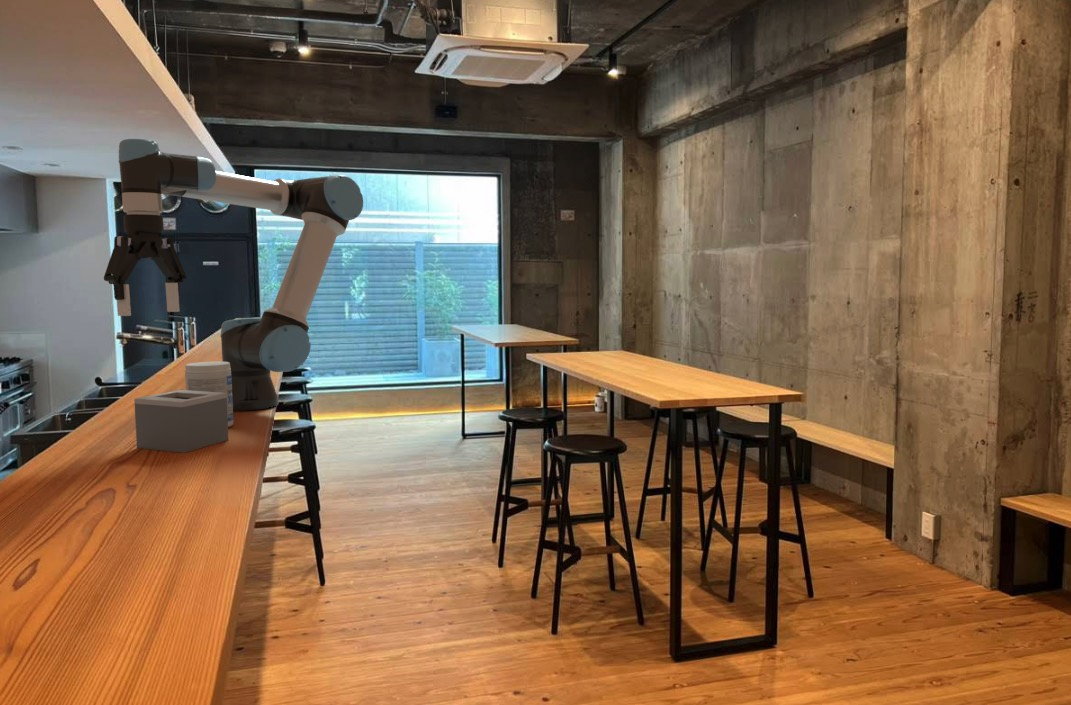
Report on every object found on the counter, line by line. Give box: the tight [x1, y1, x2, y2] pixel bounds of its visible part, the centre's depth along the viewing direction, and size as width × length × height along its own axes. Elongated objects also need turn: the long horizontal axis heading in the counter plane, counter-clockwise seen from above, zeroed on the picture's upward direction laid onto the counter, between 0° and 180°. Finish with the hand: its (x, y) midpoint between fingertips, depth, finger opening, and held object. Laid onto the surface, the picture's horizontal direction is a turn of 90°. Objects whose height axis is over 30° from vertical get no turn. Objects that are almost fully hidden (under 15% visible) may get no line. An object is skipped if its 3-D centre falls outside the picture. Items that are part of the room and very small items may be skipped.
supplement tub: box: [184, 360, 234, 428], centre depth 167 cm, size 10×10×15 cm
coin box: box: [133, 389, 229, 454], centre depth 151 cm, size 12×12×10 cm
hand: (149, 313), depth 160 cm, fingers open, 13 cm apart
